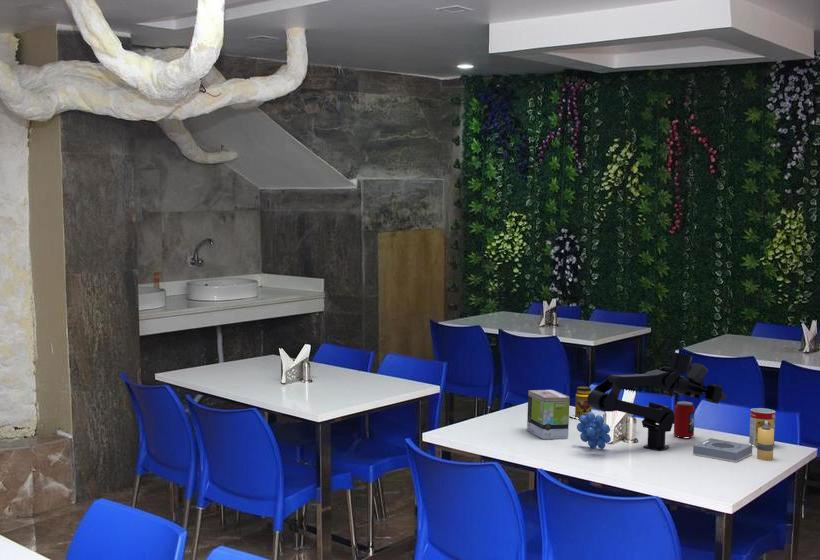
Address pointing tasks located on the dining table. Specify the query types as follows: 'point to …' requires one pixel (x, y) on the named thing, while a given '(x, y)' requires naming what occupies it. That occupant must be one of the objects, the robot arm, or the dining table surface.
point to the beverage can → (684, 419)
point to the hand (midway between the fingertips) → (716, 394)
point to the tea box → (548, 414)
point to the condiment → (582, 401)
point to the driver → (765, 442)
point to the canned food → (760, 422)
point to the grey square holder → (722, 450)
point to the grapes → (593, 430)
